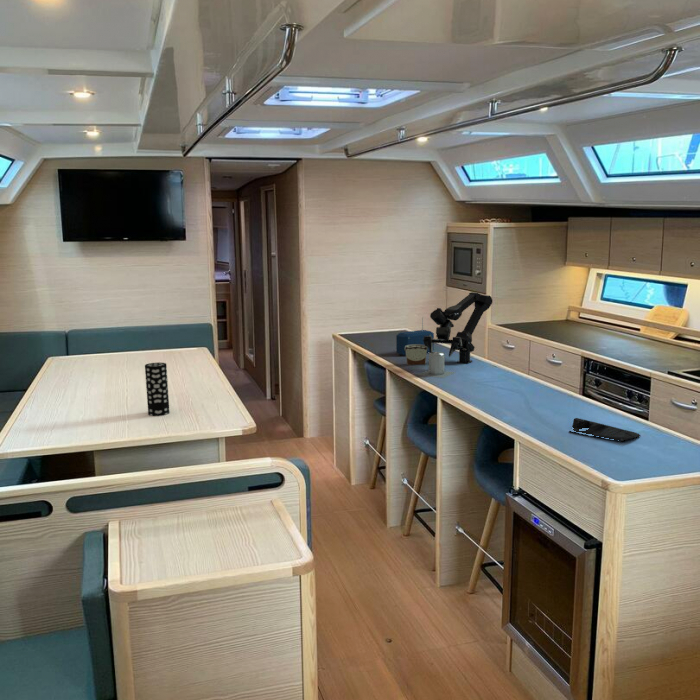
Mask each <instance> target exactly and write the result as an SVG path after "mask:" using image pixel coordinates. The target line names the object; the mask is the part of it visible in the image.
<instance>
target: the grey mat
mask: <svg viewBox="0 0 700 700" xmlns="http://www.w3.org/2000/svg"><path fill="white" fill-rule="evenodd" d="M455 373H456V371H448V370H444V374H443V375H430V374H429V369H428V370H426V371H423V372H420V373H418V374H417V376H424V377H429V378H430V377H431V378H440V379H444V378H447V377H449V376H451V375H454V374H455Z"/></svg>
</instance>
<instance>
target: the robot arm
mask: <svg viewBox="0 0 700 700" xmlns="http://www.w3.org/2000/svg"><path fill="white" fill-rule="evenodd" d="M473 304H474V310H473V311H472V313H471V314H470V317H469V318H468V321H467V323H466V324H465V326H464V328H463V330H462V331H457V333H456V335H455V336H452V339H450V337H451V331H452V328H454V327H455V325H454V323H453V321H457V320H459V319H460V318H461V317H462V315H463V312H465V310H467V309H468V308H469V307H471V306H472V305H473ZM492 305H493V298H492V296H490V295H485V294H481V293H479V292H473V291H472V292H469V293H468V295H466V296H465V297H464V298H462V299H461V300H460V301H459V302H458V303H456V304H455V305H451V306H449V307H447V308H446V309H444V310H442V308H439V307H436V309H434V310H432V312H430V314H429V317H430V319H431V320H432V321H433V322H434V323H435V324H436V325H438V326H436V329H435V335H436V336H435V338H434V339H432V336H424V338H423V341H424V344H425V346H427V347H428V348H429V350H430V352H434V350H433V343H434V344H443V345H450V348H449V352H448V357H451V356H452V355H453V354H454V352H455V351H459V353H458V354H459V355H458V357H459V358H458V360H457V361H456V363H458V362H459V364H471V363H472V361H473V360H471V353H472V352H474V351H475V348H476V347H475V345H474V344H473V343H472V341H473V333H474V331H475V329H476V328H477V326H478V323H479V321H480V320H481V318H482V317H483V315H484V312H487V310H489V309H490V307H491V306H492Z"/></svg>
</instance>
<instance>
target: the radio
mask: <svg viewBox="0 0 700 700" xmlns="http://www.w3.org/2000/svg"><path fill="white" fill-rule="evenodd" d="M421 321H422V322H421V326H422V328H421V329H419V330H411V331H402V332H398V333H397V334H396V338H395V339H396V341H395V342H396V349H395V350H396V353H397V354H398V355H400V354H401V355H400V356H404V355H405V356H404V357H406V351H405V350H404V348H405V346H406V345H411V344H421V345H425V344H424V341H423V338H424V336H432V339H435V333H434V332H433V331H430V330H427V329H426V330H425V329H424V316H422V317H421ZM434 345H435V343H433V351H434V350H435V349H434V348H435V347H434ZM428 352H430V350H429V348H428V350H427V354H429V353H428Z"/></svg>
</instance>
